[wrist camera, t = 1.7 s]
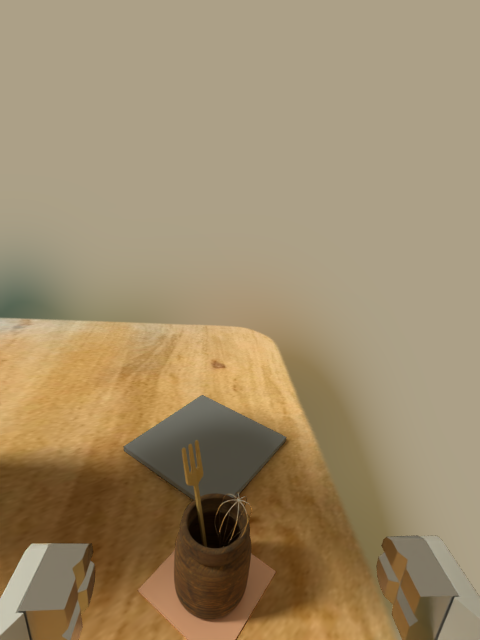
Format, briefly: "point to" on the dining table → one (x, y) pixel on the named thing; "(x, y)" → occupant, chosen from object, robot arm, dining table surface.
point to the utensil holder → (211, 549)
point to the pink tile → (201, 634)
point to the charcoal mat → (207, 447)
